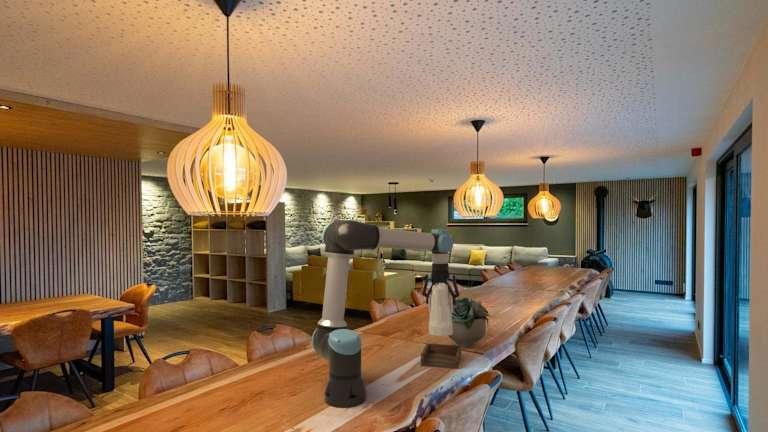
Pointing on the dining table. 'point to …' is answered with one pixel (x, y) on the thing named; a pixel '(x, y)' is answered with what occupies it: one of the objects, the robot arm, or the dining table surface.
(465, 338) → the flower arrangement
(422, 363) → the brown wooden tray
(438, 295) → the decorative vase
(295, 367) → the dining table surface
